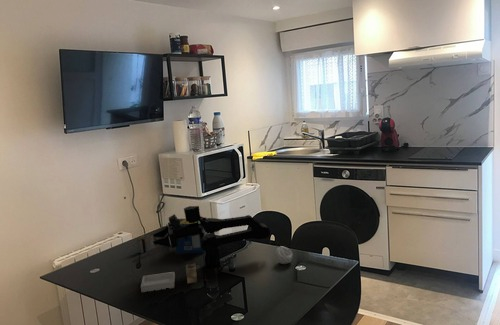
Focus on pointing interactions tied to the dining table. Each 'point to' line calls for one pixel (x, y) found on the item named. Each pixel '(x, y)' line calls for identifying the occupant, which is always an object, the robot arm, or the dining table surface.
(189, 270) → the brown block
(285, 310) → the dining table surface
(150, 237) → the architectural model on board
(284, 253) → the grey streaked ball
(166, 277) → the housing tray
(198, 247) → the protein box
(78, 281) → the dining table surface
